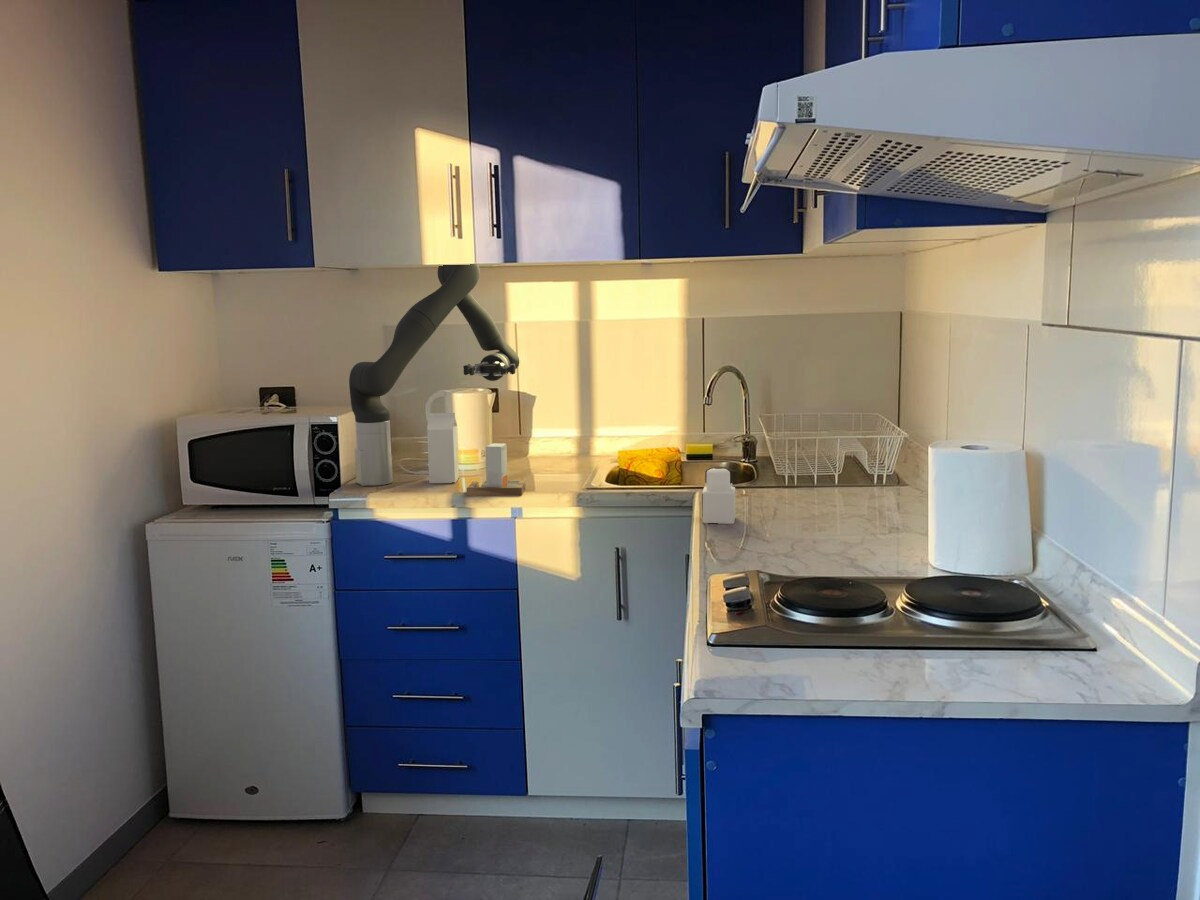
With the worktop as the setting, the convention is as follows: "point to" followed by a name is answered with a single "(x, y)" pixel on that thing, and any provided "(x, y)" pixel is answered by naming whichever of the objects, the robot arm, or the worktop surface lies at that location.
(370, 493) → the worktop surface
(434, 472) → the milk carton
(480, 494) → the stop dock
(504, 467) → the skincare box
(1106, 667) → the worktop surface
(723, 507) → the medicine bottle
